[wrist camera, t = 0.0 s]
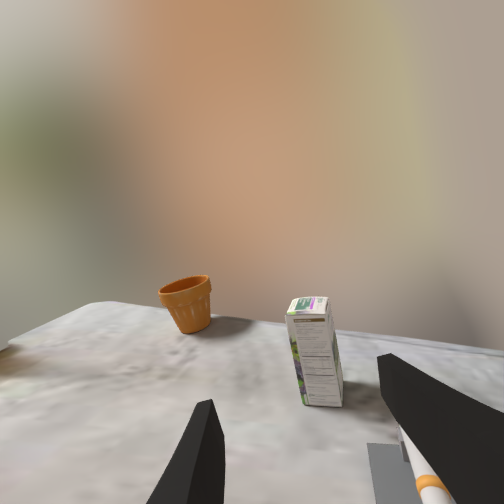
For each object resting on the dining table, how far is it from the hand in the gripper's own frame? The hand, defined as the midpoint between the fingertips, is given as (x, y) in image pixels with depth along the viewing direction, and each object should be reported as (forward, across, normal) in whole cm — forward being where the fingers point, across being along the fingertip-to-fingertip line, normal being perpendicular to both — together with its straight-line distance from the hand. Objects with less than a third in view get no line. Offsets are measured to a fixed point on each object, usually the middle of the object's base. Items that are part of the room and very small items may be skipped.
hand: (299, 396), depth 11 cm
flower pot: (+59, +19, +27) cm, 68 cm away
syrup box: (+23, -6, +24) cm, 34 cm away
